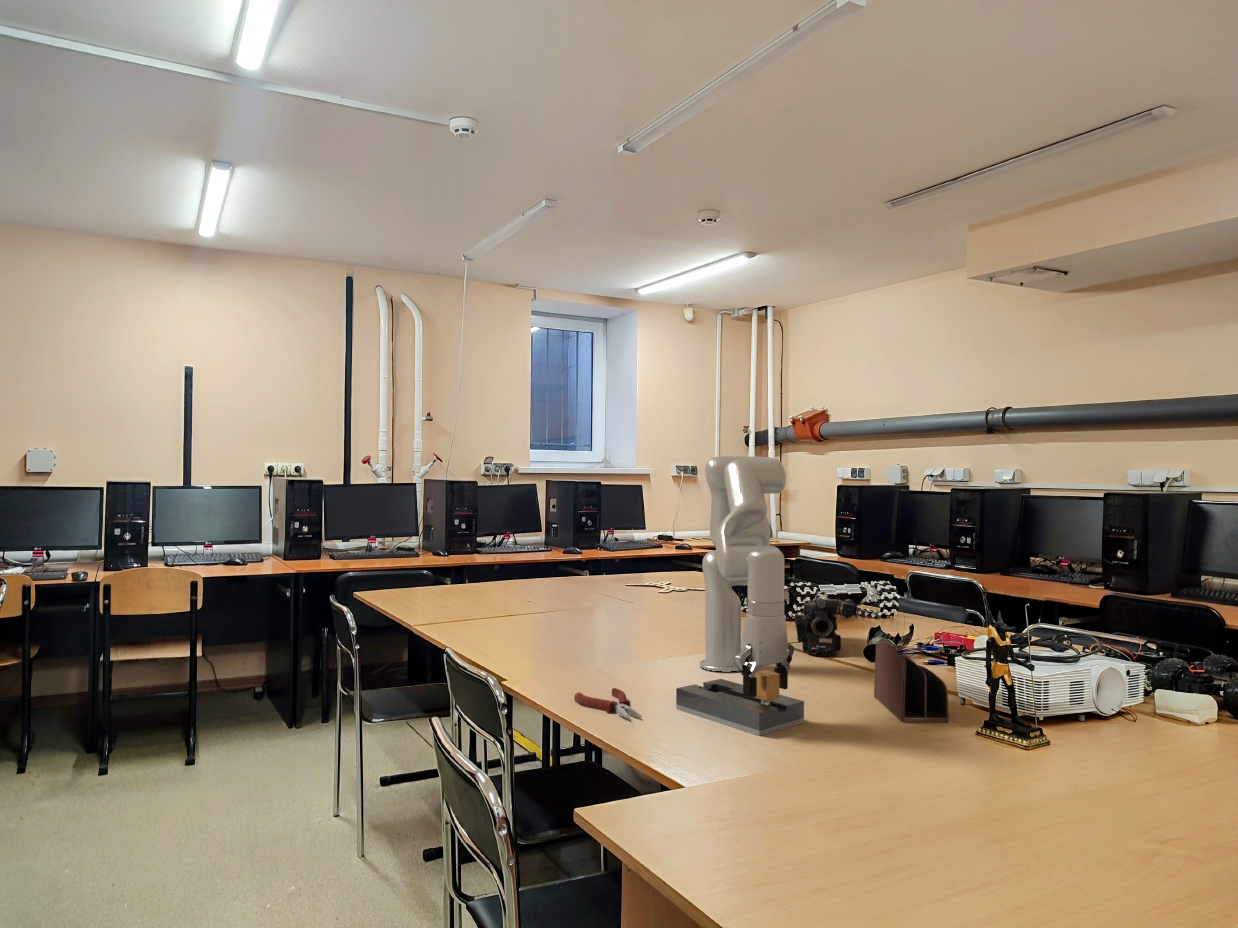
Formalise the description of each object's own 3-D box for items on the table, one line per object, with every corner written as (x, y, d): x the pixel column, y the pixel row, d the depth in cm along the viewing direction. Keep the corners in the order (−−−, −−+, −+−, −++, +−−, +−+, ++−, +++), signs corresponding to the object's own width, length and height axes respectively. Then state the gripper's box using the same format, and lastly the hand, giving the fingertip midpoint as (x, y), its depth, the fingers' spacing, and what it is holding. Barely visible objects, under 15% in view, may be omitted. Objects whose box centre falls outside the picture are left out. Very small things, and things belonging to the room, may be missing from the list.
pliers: (610, 726, 168) (611, 714, 168) (572, 702, 185) (572, 691, 186) (659, 720, 173) (659, 707, 173) (616, 697, 191) (617, 685, 191)
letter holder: (901, 723, 170) (901, 655, 170) (873, 697, 190) (873, 637, 190) (949, 723, 170) (949, 656, 170) (916, 698, 190) (916, 637, 190)
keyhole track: (720, 698, 188) (720, 678, 188) (804, 722, 169) (804, 700, 170) (676, 708, 179) (676, 688, 179) (759, 735, 161) (759, 712, 161)
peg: (764, 714, 171) (764, 669, 171) (779, 719, 168) (779, 673, 168) (751, 718, 169) (751, 672, 169) (766, 723, 166) (766, 676, 166)
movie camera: (860, 658, 227) (856, 595, 228) (795, 657, 231) (792, 596, 233) (858, 641, 257) (855, 586, 258) (800, 641, 261) (797, 586, 262)
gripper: (778, 603, 177) (778, 681, 177) (723, 610, 166) (723, 694, 166) (806, 607, 171) (806, 688, 171) (751, 615, 161) (751, 702, 160)
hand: (765, 691), depth 169 cm, fingers open, 9 cm apart
